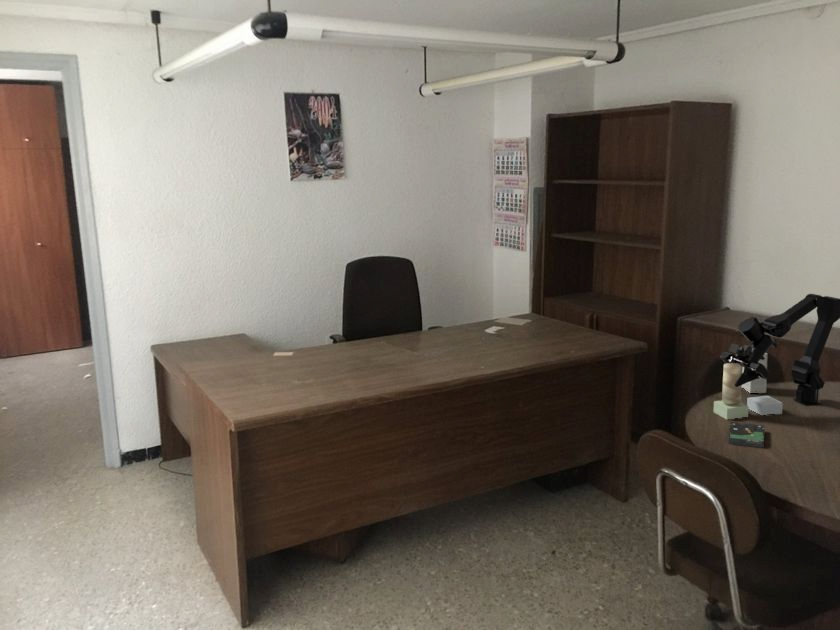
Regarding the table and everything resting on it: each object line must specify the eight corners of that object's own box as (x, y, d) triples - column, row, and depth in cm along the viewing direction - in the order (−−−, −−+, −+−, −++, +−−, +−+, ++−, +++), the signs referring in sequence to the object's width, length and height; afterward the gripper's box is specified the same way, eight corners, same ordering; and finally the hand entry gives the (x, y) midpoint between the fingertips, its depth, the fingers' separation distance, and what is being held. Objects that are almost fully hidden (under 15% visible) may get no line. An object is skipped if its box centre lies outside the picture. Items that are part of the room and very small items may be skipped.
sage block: (734, 409, 251) (734, 399, 251) (748, 417, 244) (748, 406, 243) (713, 412, 250) (713, 401, 249) (726, 419, 242) (727, 408, 242)
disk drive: (729, 429, 236) (727, 445, 223) (729, 421, 235) (728, 436, 222) (763, 433, 231) (764, 449, 218) (764, 425, 231) (764, 441, 218)
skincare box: (766, 393, 267) (768, 353, 263) (748, 394, 267) (751, 354, 264) (756, 386, 275) (758, 348, 272) (739, 387, 275) (741, 348, 272)
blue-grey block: (767, 406, 253) (767, 395, 253) (782, 413, 246) (782, 402, 245) (746, 408, 252) (747, 397, 251) (761, 416, 244) (761, 405, 244)
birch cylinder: (739, 399, 248) (741, 363, 245) (741, 404, 242) (743, 368, 239) (721, 398, 250) (722, 362, 247) (722, 403, 244) (724, 367, 241)
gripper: (725, 329, 251) (697, 363, 250) (764, 341, 233) (735, 377, 233) (742, 348, 255) (715, 381, 254) (782, 361, 237) (753, 397, 236)
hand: (729, 383), depth 244 cm, fingers closed on birch cylinder, 6 cm apart
